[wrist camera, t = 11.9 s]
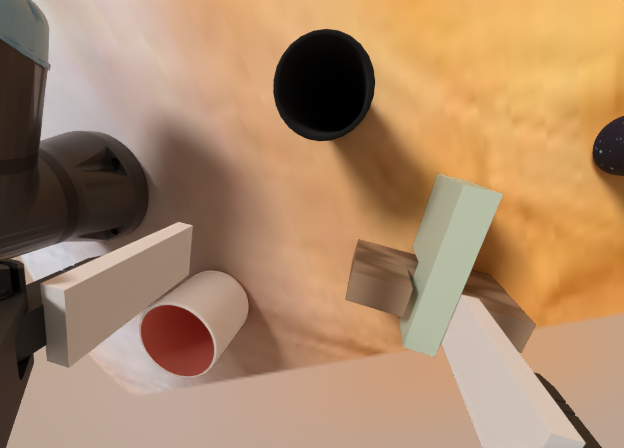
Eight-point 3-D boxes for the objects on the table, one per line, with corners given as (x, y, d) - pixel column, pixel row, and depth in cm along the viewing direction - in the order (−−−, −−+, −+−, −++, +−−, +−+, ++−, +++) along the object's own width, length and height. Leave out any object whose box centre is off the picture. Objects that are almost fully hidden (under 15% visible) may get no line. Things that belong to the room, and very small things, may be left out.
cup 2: (378, 135, 33) (381, 130, 22) (313, 148, 35) (284, 149, 23) (369, 62, 31) (366, 14, 20) (301, 79, 33) (263, 44, 22)
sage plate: (419, 303, 37) (434, 357, 28) (395, 296, 38) (403, 347, 28) (465, 179, 32) (503, 194, 23) (437, 173, 33) (463, 184, 23)
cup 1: (248, 336, 44) (213, 388, 34) (187, 318, 45) (138, 364, 36) (255, 276, 41) (220, 316, 31) (191, 259, 42) (138, 292, 33)
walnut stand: (352, 260, 37) (345, 299, 28) (358, 239, 37) (353, 272, 27) (481, 297, 35) (521, 352, 26) (491, 275, 34) (536, 324, 25)
